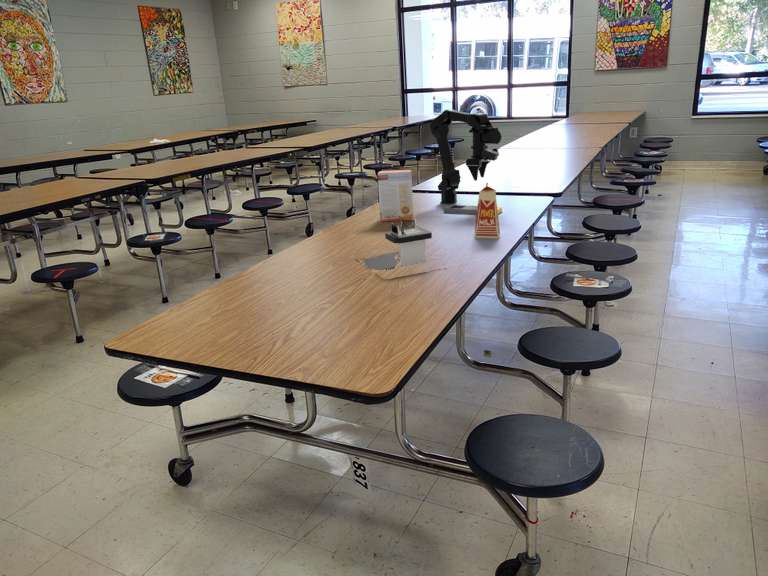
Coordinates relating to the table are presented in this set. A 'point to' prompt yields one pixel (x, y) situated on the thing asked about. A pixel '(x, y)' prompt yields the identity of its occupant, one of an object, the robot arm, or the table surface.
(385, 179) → the cracker box
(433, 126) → the robot arm
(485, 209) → the milk carton
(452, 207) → the rail
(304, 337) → the table surface
